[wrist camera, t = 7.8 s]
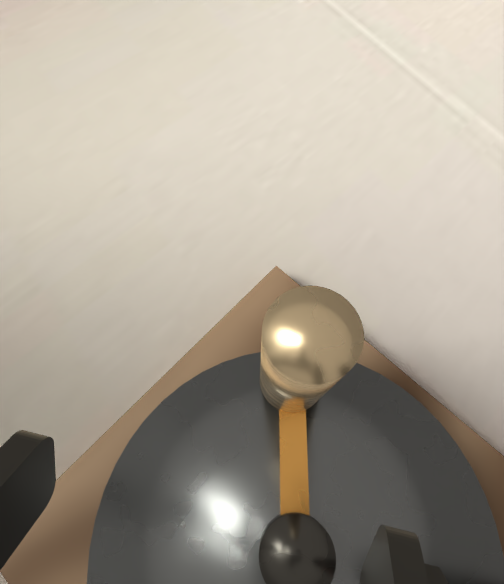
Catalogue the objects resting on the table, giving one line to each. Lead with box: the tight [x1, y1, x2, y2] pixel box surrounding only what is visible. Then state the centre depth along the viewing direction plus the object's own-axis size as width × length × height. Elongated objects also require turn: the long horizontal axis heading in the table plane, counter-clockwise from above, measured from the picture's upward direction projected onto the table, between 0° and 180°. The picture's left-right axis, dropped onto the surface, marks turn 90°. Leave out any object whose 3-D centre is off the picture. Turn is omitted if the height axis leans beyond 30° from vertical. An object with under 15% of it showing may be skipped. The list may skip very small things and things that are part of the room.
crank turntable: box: [87, 286, 504, 584], centre depth 14 cm, size 17×17×10 cm
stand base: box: [0, 266, 504, 584], centre depth 20 cm, size 20×20×2 cm
